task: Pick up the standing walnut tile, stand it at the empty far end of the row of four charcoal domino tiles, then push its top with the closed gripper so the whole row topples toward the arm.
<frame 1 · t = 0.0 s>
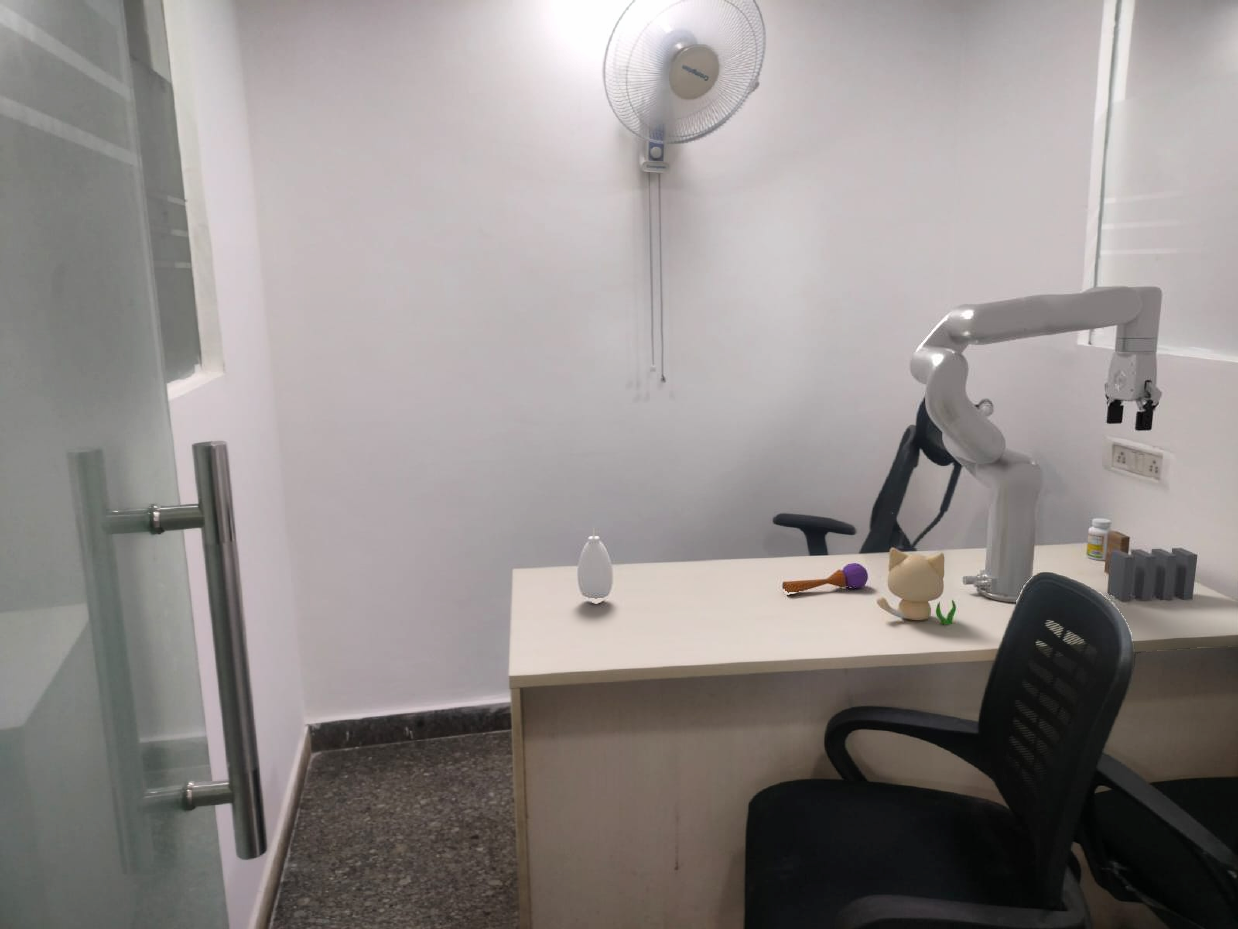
hand: (1128, 426, 176), 37 cm above the table, tool pointing down, fingers open, 9 cm apart
domino 2: (1138, 597, 178), on the table
white tall oval piece: (596, 603, 184), on the table
domino 3: (1159, 596, 178), on the table
domino 5: (1114, 575, 192), on the table
domino 4: (1179, 595, 178), on the table
kendama: (825, 592, 188), on the table
domino 1: (1118, 597, 178), on the table
supplement bottle: (1098, 558, 205), on the table
kitten: (916, 619, 170), on the table
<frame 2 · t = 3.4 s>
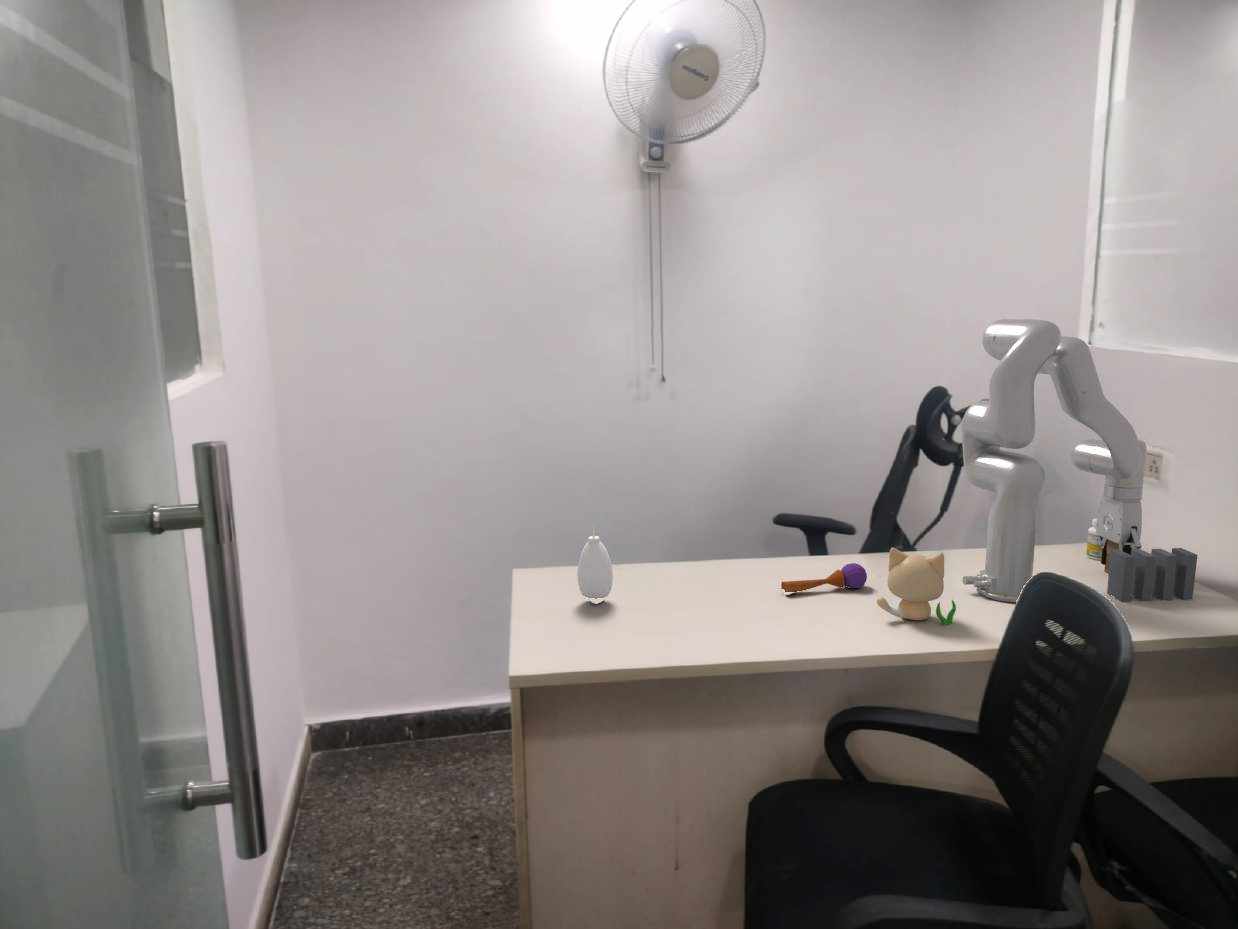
hand: (1115, 567, 191), 2 cm above the table, tool pointing down, fingers closed on domino 5, 4 cm apart
domino 5: (1114, 575, 192), on the table, touching gripper
everything else where it was.
when the fingers open (2 cm above the table, at t = 8.4 s): domino 5 stays where it is, on the table.
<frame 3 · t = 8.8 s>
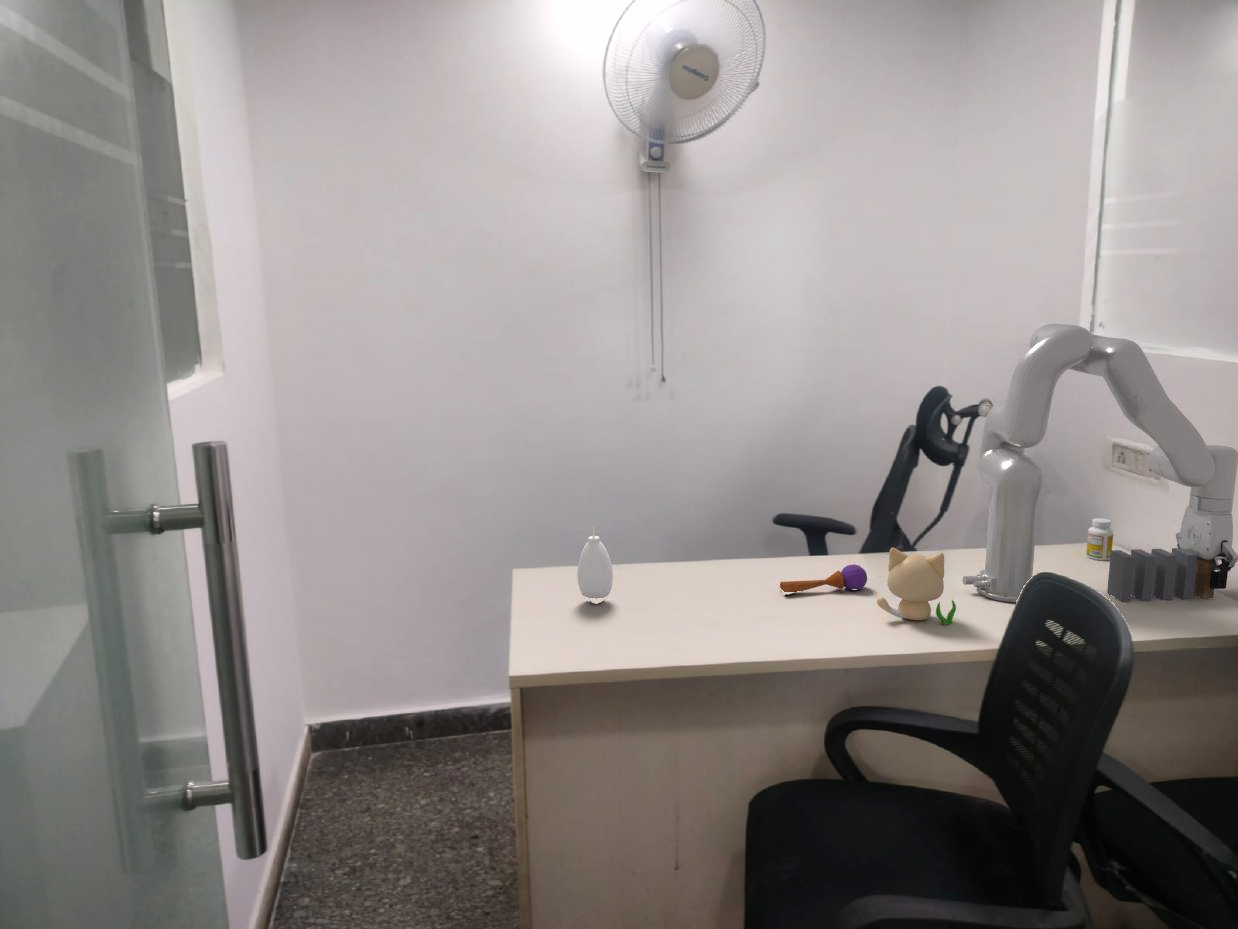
hand: (1201, 580, 178), 3 cm above the table, tool pointing down, fingers open, 8 cm apart
domino 5: (1200, 594, 178), on the table
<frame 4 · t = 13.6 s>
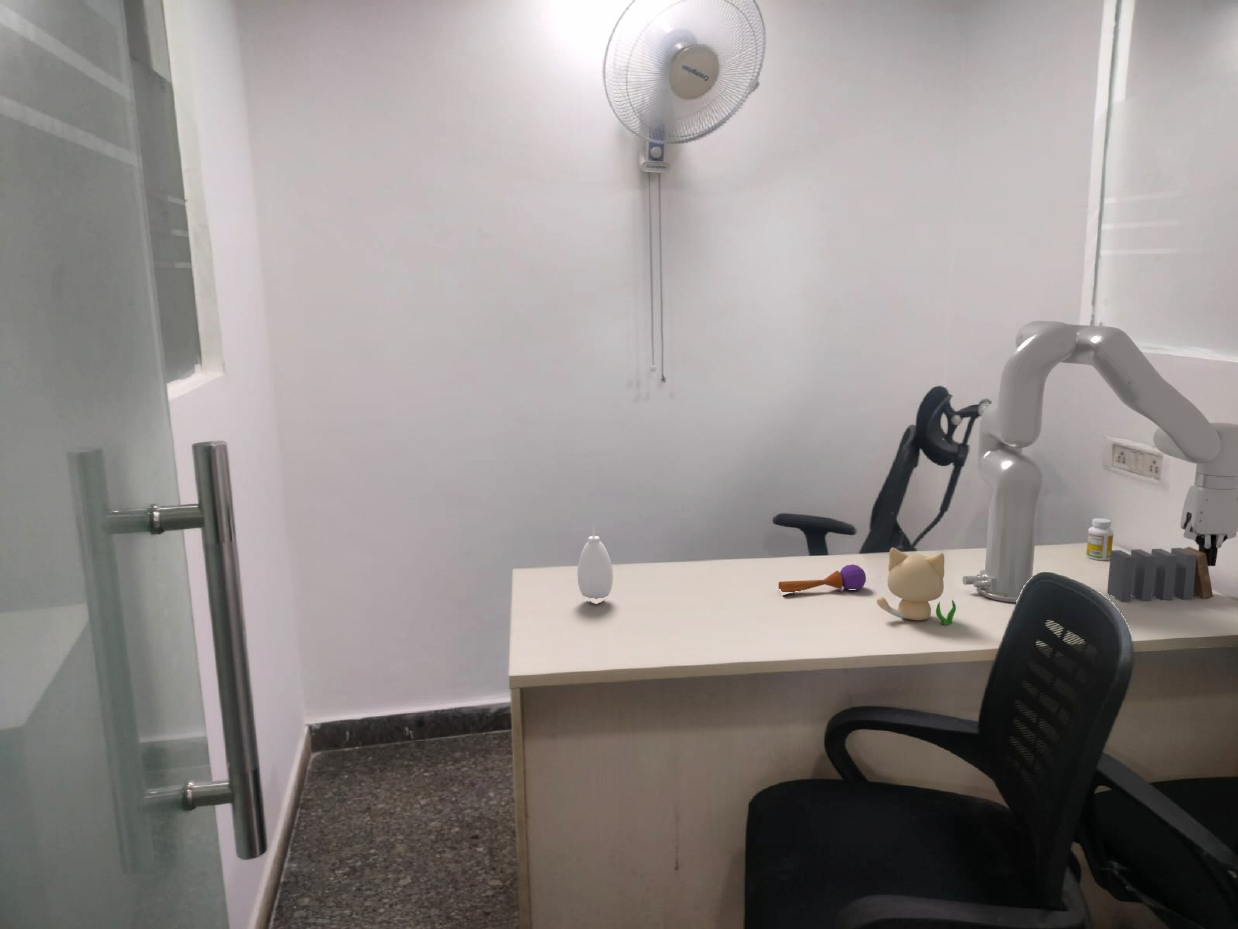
hand: (1206, 564, 177), 7 cm above the table, tool pointing down, fingers closed
domino 5: (1200, 593, 178), on the table, tilted 15°, touching gripper
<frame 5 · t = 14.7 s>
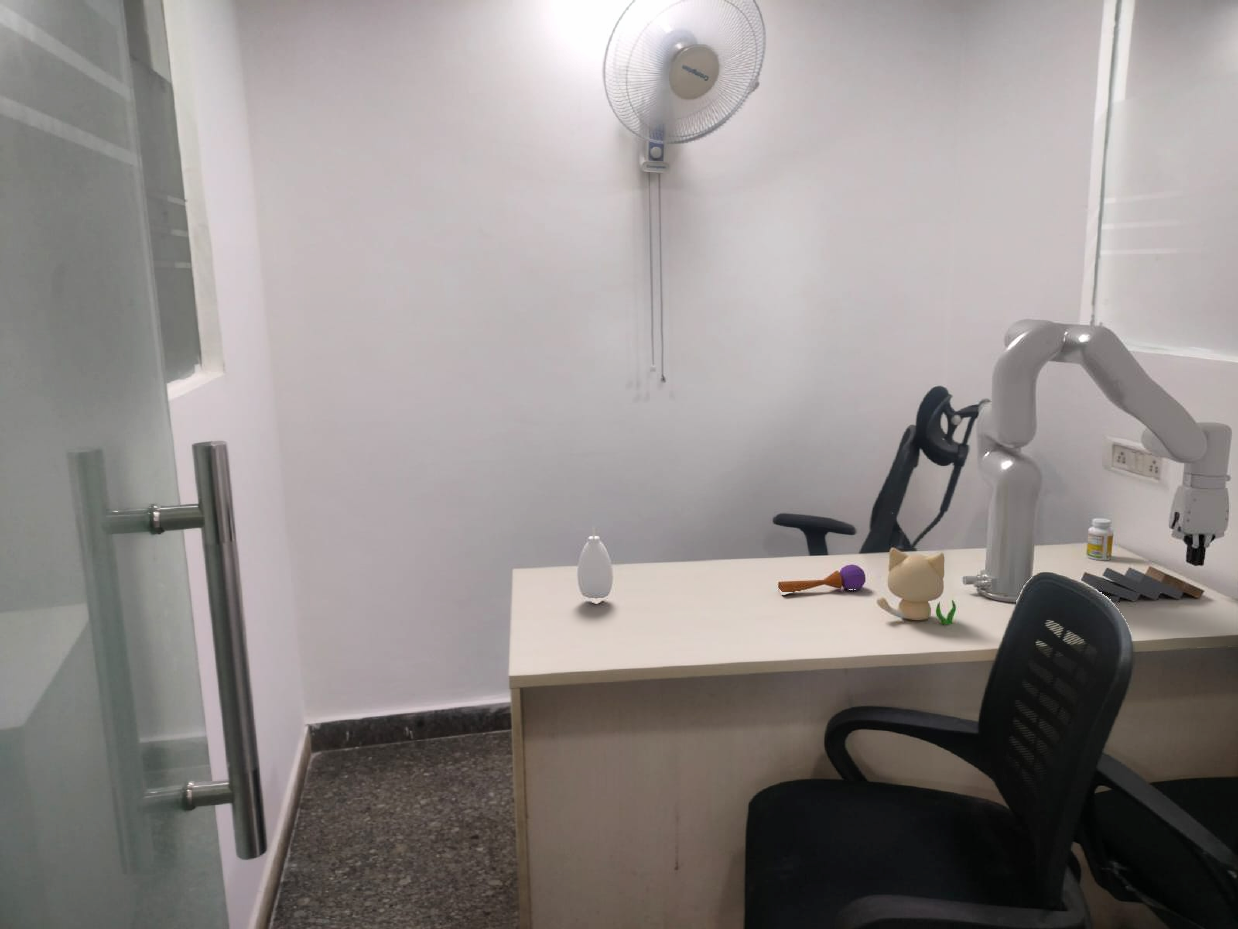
hand: (1194, 563, 177), 7 cm above the table, tool pointing down, fingers closed
domino 2: (1130, 593, 178), point 1 cm above the table, tilted 70°, touching domino 1, domino 3
domino 3: (1150, 592, 178), point 1 cm above the table, tilted 65°, touching domino 2, domino 4
domino 5: (1193, 590, 178), point 1 cm above the table, tilted 65°, touching domino 4
domino 4: (1173, 591, 178), point 1 cm above the table, tilted 65°, touching domino 3, domino 5
domino 1: (1111, 596, 178), on the table, tilted 90°, touching domino 2
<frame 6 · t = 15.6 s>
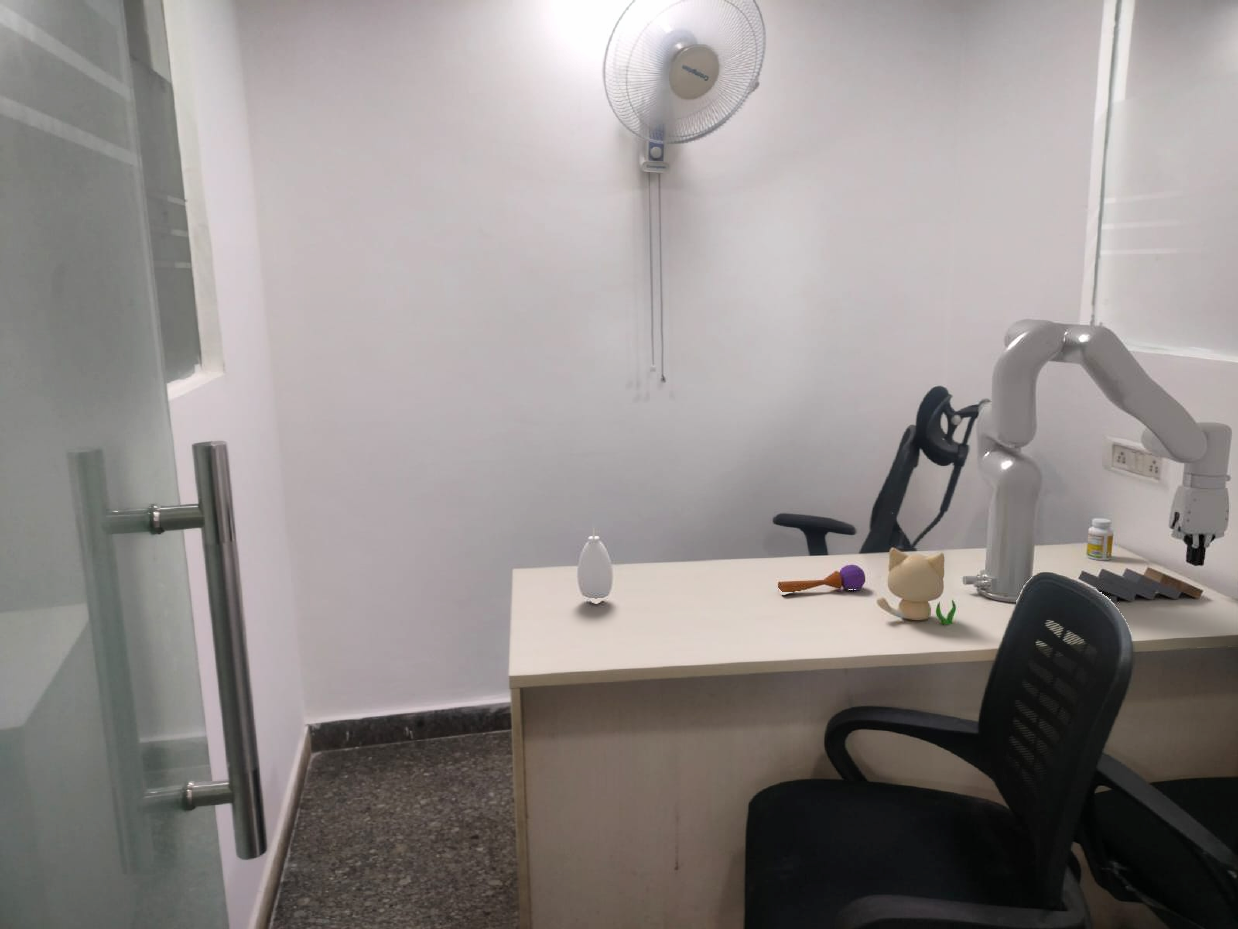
hand: (1194, 563, 177), 7 cm above the table, tool pointing down, fingers closed
domino 2: (1126, 593, 178), point 1 cm above the table, tilted 66°, touching domino 3
domino 3: (1146, 591, 178), point 1 cm above the table, tilted 66°, touching domino 2
domino 5: (1192, 590, 178), point 1 cm above the table, tilted 66°, touching domino 4
domino 4: (1171, 592, 178), point 1 cm above the table, tilted 66°, touching domino 5
domino 1: (1108, 596, 178), on the table, tilted 90°
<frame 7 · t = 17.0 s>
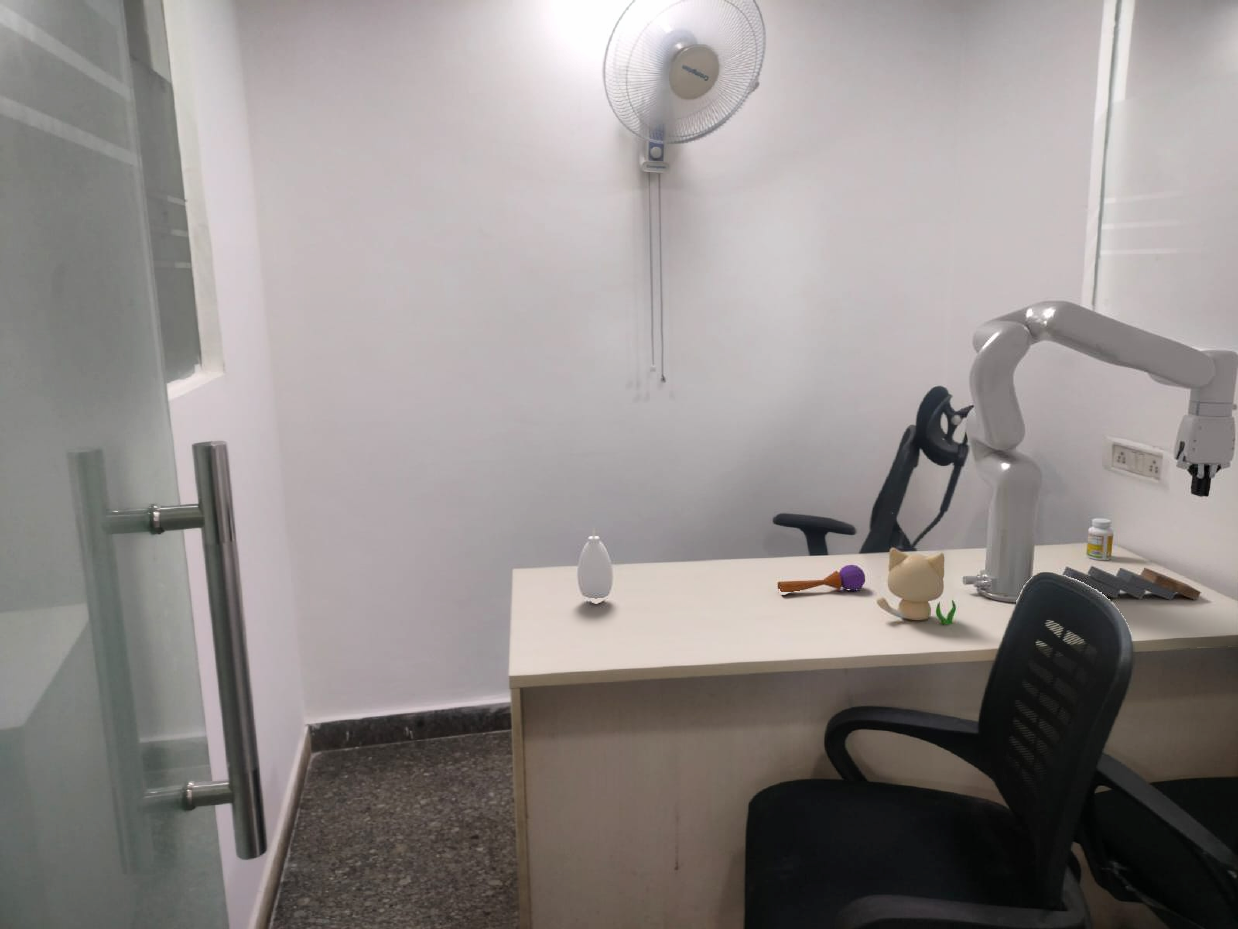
hand: (1199, 495, 175), 22 cm above the table, tool pointing down, fingers closed
domino 2: (1113, 591, 179), point 1 cm above the table, tilted 69°, touching domino 1, domino 3
domino 3: (1138, 591, 178), point 1 cm above the table, tilted 66°, touching domino 2
domino 5: (1191, 592, 177), point 1 cm above the table, tilted 67°, touching domino 4
domino 4: (1166, 592, 178), point 1 cm above the table, tilted 67°, touching domino 5
domino 1: (1100, 595, 179), on the table, tilted 90°, touching domino 2
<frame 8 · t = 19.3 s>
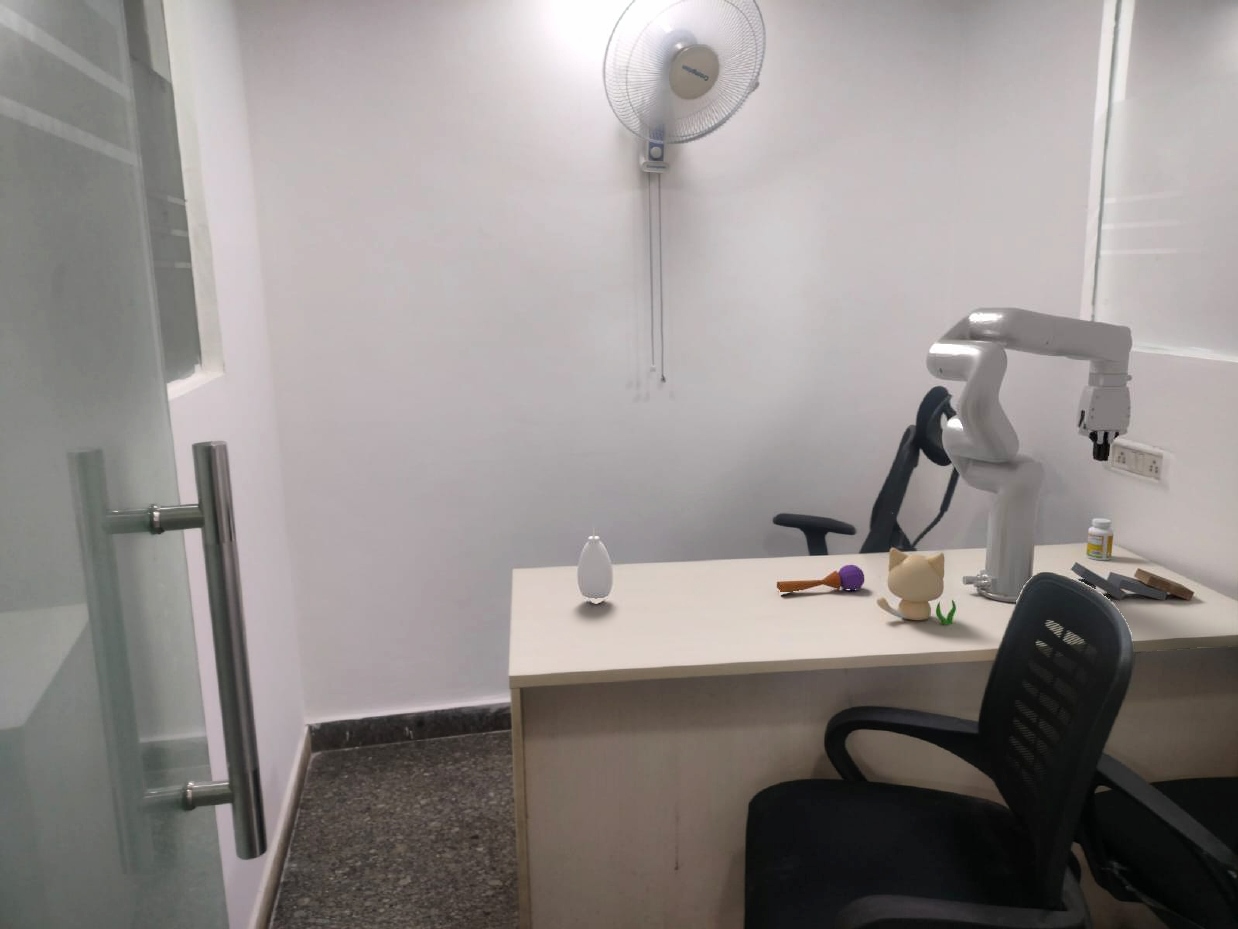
hand: (1100, 459, 189), 27 cm above the table, tool pointing down, fingers closed
domino 2: (1090, 587, 178), point 2 cm above the table, tilted 90°, touching domino 1
domino 3: (1117, 592, 179), point 1 cm above the table, tilted 59°, touching domino 4
domino 5: (1185, 592, 177), point 1 cm above the table, tilted 68°
domino 4: (1159, 592, 178), point 1 cm above the table, tilted 74°, touching domino 3
domino 1: (1090, 596, 178), on the table, tilted 90°, touching domino 2
at the end: domino 1 tilted 90°; domino 5 tilted 68°; domino 5 inside the target area (3.6 cm from its centre), point 1.0 cm above the table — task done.
